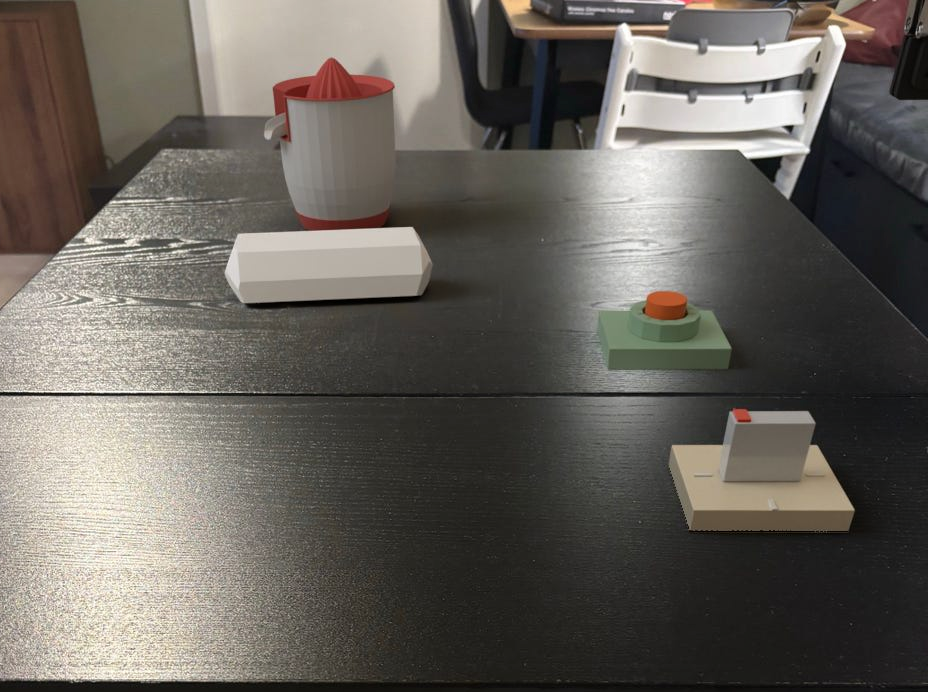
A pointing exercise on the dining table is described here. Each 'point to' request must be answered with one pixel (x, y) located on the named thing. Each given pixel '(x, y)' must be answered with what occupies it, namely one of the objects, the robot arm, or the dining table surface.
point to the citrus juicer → (336, 147)
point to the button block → (662, 340)
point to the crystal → (328, 265)
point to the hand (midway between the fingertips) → (912, 97)
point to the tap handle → (765, 445)
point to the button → (666, 305)
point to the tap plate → (757, 495)
